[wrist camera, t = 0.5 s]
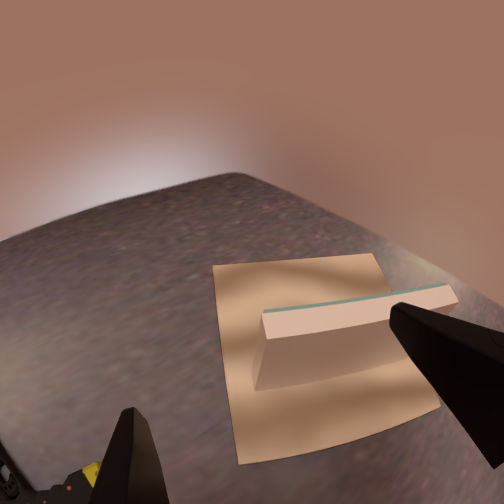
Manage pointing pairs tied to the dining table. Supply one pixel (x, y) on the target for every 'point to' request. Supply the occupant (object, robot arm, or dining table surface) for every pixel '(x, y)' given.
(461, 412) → the robot arm
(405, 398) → the board
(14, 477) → the stun gun
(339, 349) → the tile
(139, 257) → the dining table surface
